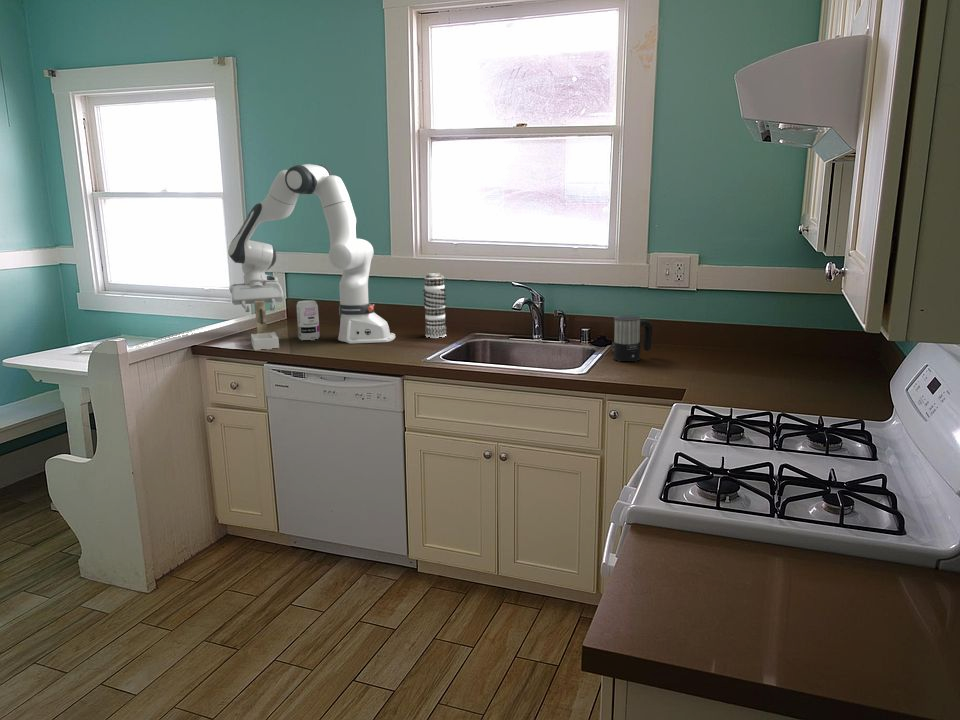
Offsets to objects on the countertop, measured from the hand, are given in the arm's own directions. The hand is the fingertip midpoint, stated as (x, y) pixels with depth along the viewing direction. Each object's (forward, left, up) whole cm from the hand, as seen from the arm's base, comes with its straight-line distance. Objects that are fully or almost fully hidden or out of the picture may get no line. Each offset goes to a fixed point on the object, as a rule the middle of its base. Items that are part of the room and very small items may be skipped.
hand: (259, 310), depth 302 cm
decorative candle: (-70, -3, -11) cm, 71 cm away
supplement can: (-20, +3, -11) cm, 23 cm away
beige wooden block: (-1, +3, -11) cm, 11 cm away
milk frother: (-141, +33, -11) cm, 145 cm away
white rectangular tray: (-7, +17, -11) cm, 21 cm away
